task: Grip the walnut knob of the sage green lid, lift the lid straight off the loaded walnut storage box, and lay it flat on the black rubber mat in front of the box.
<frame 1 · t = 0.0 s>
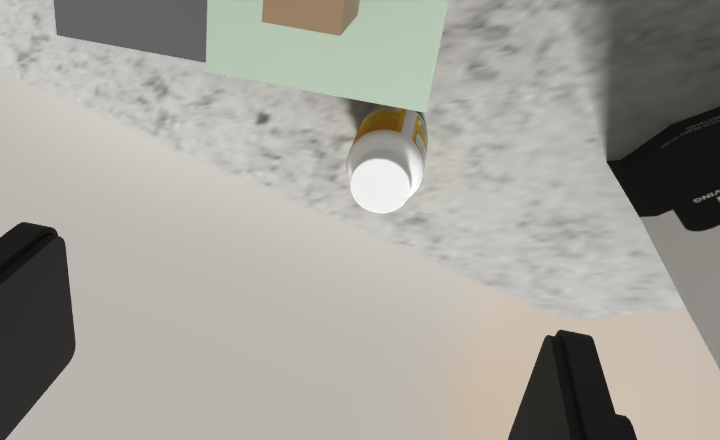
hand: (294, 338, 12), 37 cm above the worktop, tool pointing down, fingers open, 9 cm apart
supplement bottle: (393, 134, 49), on the worktop
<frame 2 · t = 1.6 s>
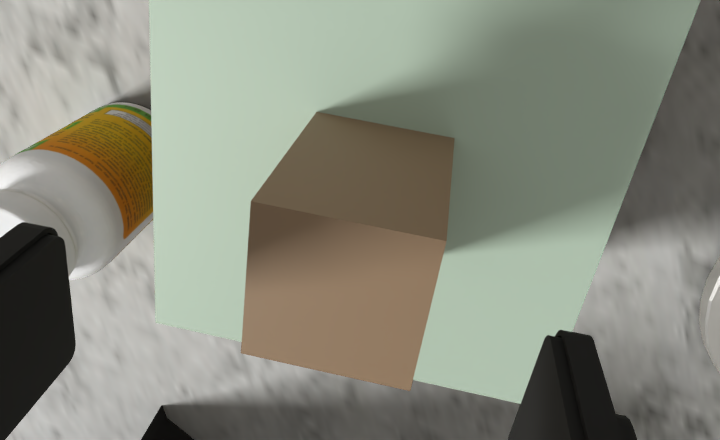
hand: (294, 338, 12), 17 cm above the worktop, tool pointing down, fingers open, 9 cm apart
supplement bottle: (138, 152, 30), on the worktop
lid: (378, 174, 19), point 8 cm above the worktop, touching storage box
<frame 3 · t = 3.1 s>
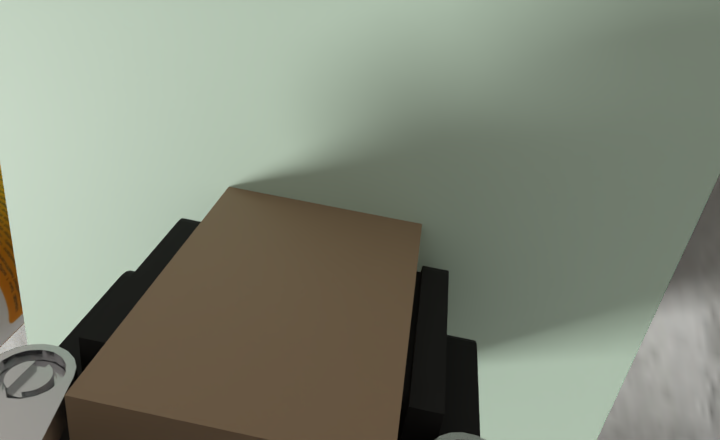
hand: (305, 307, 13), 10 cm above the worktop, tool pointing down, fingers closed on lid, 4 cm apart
supplement bottle: (50, 199, 25), on the worktop
lid: (323, 261, 14), point 8 cm above the worktop, touching gripper, storage box
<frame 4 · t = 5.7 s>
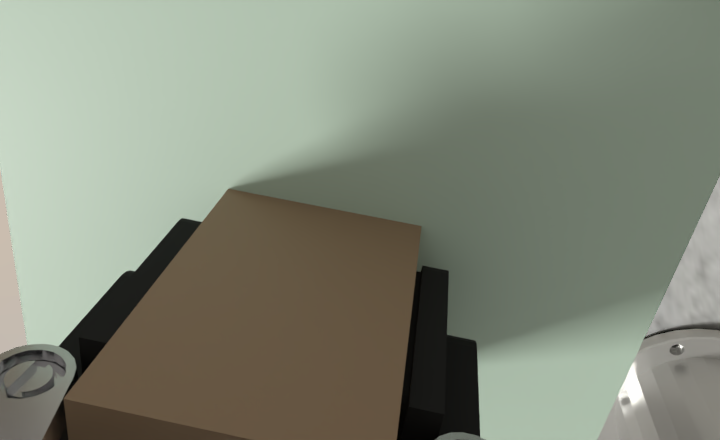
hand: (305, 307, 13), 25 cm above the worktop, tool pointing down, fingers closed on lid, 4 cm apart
lid: (322, 263, 14), point 23 cm above the worktop, touching gripper
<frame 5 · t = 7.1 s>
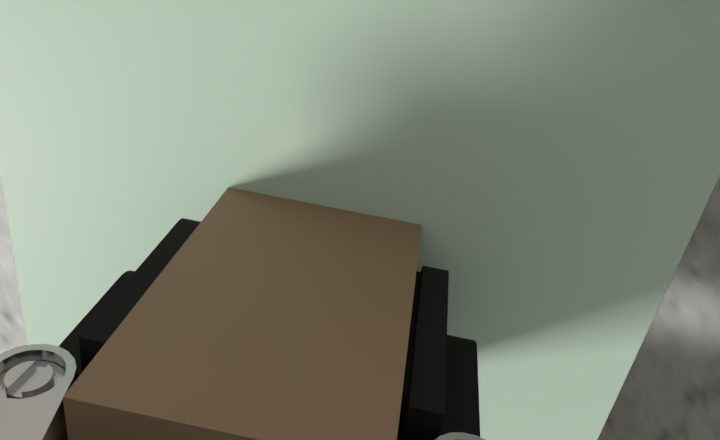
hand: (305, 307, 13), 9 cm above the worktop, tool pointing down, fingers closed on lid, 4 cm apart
lid: (322, 262, 14), point 8 cm above the worktop, touching gripper
when the fingers open (4 cm above the worktop, at t = 8.4 s): lid drops 2 cm, resting on rubber mat.
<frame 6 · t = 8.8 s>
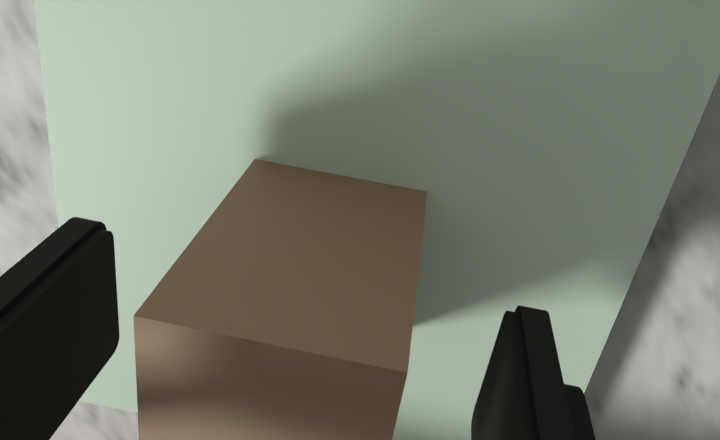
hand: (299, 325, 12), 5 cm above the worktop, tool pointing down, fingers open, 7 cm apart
lid: (337, 229, 16), point 1 cm above the worktop, touching rubber mat
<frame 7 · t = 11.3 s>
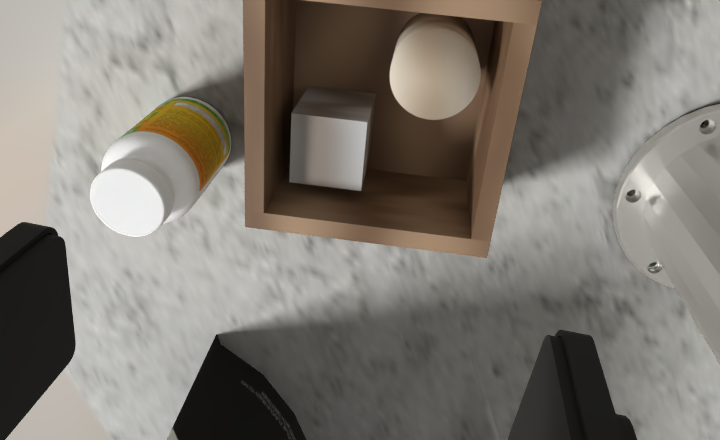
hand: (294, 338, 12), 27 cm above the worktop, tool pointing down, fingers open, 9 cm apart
supplement bottle: (193, 134, 40), on the worktop
storage box: (387, 80, 37), on the worktop
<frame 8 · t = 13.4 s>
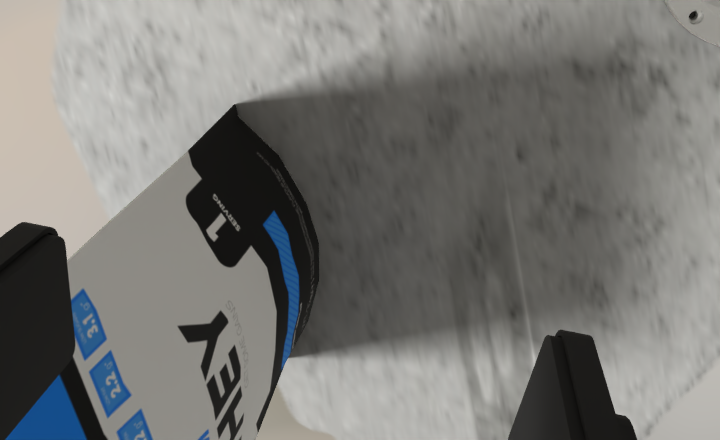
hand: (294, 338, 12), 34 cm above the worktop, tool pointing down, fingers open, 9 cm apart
protein powder: (264, 243, 52), on the worktop
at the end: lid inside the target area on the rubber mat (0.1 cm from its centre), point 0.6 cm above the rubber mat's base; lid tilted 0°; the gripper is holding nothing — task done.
